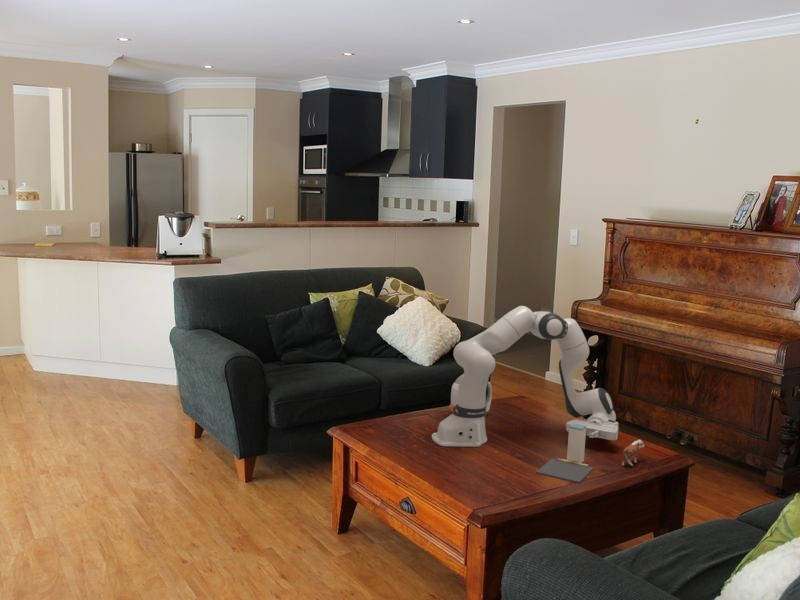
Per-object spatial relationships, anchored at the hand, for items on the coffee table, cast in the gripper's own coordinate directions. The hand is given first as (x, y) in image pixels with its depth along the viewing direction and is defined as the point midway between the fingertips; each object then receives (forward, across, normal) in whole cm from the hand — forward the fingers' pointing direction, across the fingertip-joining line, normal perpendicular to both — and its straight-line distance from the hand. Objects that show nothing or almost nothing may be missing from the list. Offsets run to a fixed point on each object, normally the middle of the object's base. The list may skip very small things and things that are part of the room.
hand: (586, 435), depth 301 cm
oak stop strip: (+16, 0, +7) cm, 17 cm away
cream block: (+12, 0, +7) cm, 14 cm away
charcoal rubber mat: (+24, 0, +7) cm, 25 cm away
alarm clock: (-15, -57, +7) cm, 60 cm away
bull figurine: (0, +18, +7) cm, 20 cm away
